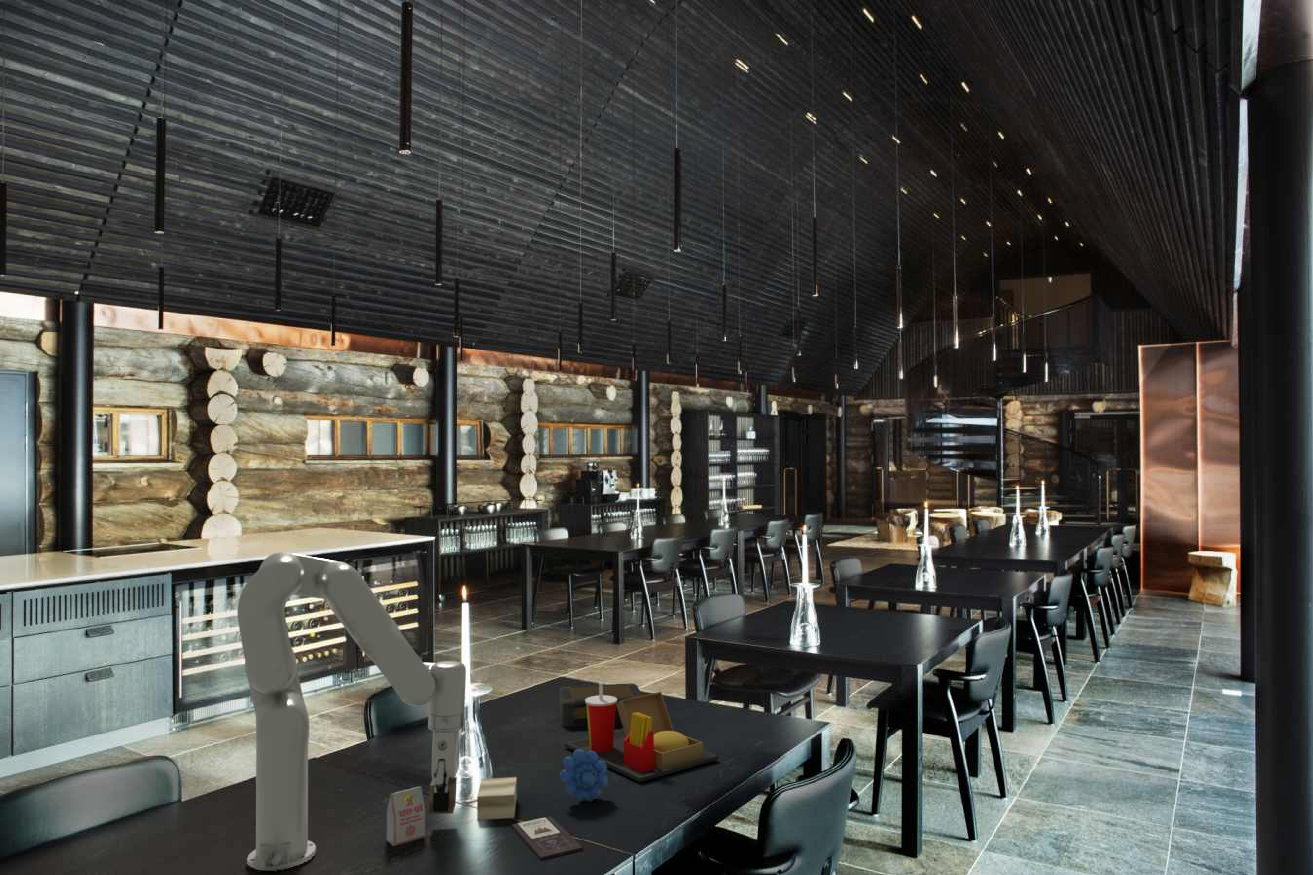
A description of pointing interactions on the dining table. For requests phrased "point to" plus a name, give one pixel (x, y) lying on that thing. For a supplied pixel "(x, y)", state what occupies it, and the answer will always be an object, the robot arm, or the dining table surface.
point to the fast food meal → (638, 737)
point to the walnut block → (451, 796)
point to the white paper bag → (405, 816)
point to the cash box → (574, 696)
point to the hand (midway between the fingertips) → (442, 805)
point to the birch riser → (497, 798)
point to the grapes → (584, 774)
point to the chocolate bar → (546, 837)
